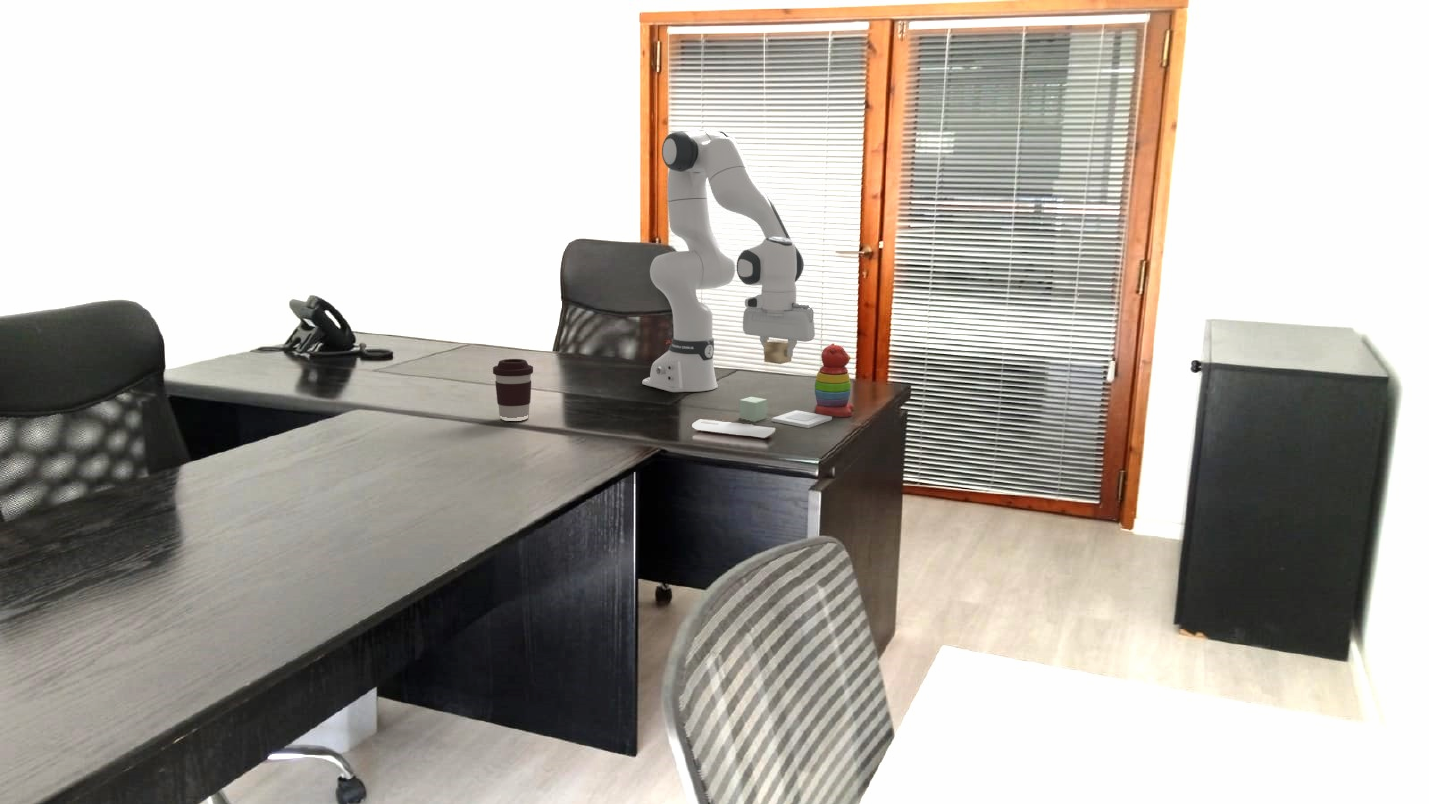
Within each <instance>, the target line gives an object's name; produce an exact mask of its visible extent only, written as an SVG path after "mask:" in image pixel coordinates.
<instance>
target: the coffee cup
mask: <svg viewBox="0 0 1429 804" xmlns="http://www.w3.org/2000/svg"><path fill="white" fill-rule="evenodd" d="M533 373H534V366H533V365H530V364H529V363H528V361H527V360H525V359H521V358H506V359H500V360H499V361H498V363H497V365H495V366H493V367H492V374H493V375H495V392H496V402H497V405H498V412H499V413H498V414H499V417H500V416H502V417H507V418H517V417H524V416H527V415H529V416H530V403H531V396H532V395H531V394H532V380H531V379H532V378H531V375H533Z"/></svg>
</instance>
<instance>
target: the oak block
mask: <svg viewBox="0 0 1429 804" xmlns="http://www.w3.org/2000/svg"><path fill="white" fill-rule="evenodd" d="M789 345H790V344H788V340H787V341H786V340H779V339H775V340H770V341H769V340H768V342H765V343H764V347H763V355H764V356H763V358H764V359H763V363H770V364H777V365H782V364H786V363H790V362H792V357H785V356H784V354H785V353H784V350H787V349H788V347H789Z"/></svg>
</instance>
